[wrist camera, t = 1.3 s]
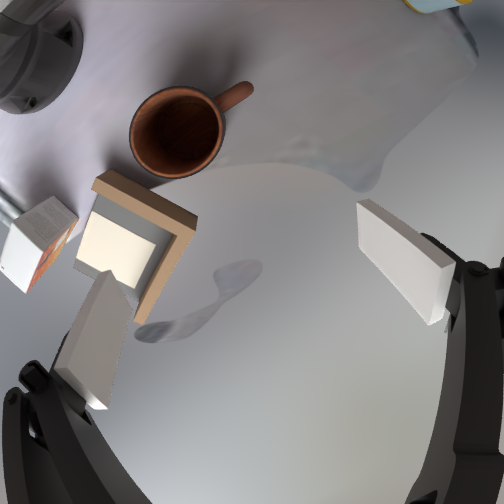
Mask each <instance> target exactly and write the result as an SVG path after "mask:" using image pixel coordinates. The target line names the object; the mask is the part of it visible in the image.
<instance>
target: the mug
mask: <svg viewBox="0 0 504 504" xmlns="http://www.w3.org/2000/svg"><path fill="white" fill-rule="evenodd" d="M253 91H254V87H253V85H252V84H251V83H250V82H248V81H243V82H240V83H238V84H236V85H234V86H233V87H231V88H229V89H228V90H226V91H224V92H223V93H221V94H220V95H218V96H217V97H215V98H213V99H212V98H211V97H210V96H209V95H208V94H206V93H205V92H203V91H201V90H199V89H196V88H193V87H188V86H173V87H169V88H165V89H162V90H160V91H158V92H156V93H154V94H153V95H151V96H150V97H148V98H147V99H146V100H145V101H144V102H143V103H142V104H141V105H140V106H139V108H138V109H137V111H136V113H135V114H134V116H133V119H132V121H131V125H130V130H129V143H130V148H131V151H132V153H133V155H134V158H135V159H136V161H137V162H138V163H139V164H140V166H141V167H143V168H144V169H145V170H146V171H148V172H149V173H151V174H153V175H155V176H158V177H161V178H166V179H180V178H185V177H189V176H192V175H194V174H196V173H198V172H200V171H201V170H203V169H204V168H205V167H207V166H208V165H209V164H210V163H211V162H212V161H213V159H214V158H215V157H216V155H217V154H218V152H219V150H220V148H221V146H222V143H223V140H224V136H225V130H226V120H225V117H224V115H223V113H224V112H225V111H227V110H229V109H230V108H232V107H233V106H235V105H236V104H238V103H239V102H241V101H242V100H244V99H245V98H247V97H248V96H250V95H251V94H252V93H253Z"/></svg>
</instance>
